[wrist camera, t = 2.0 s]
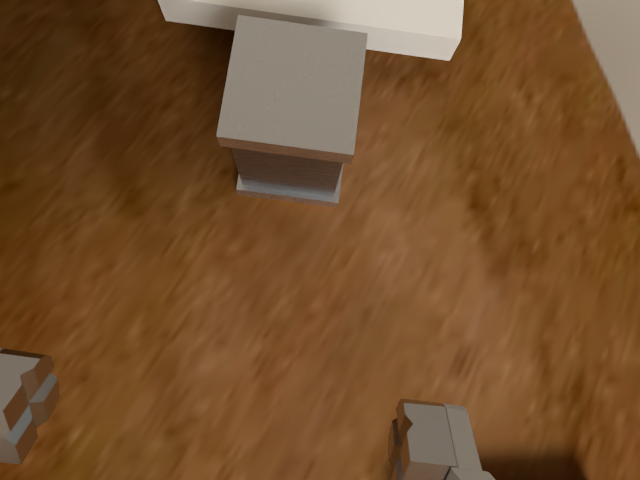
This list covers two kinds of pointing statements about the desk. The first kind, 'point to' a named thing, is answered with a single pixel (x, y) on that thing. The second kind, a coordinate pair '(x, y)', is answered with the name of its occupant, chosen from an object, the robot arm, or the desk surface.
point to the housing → (292, 108)
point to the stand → (343, 20)
